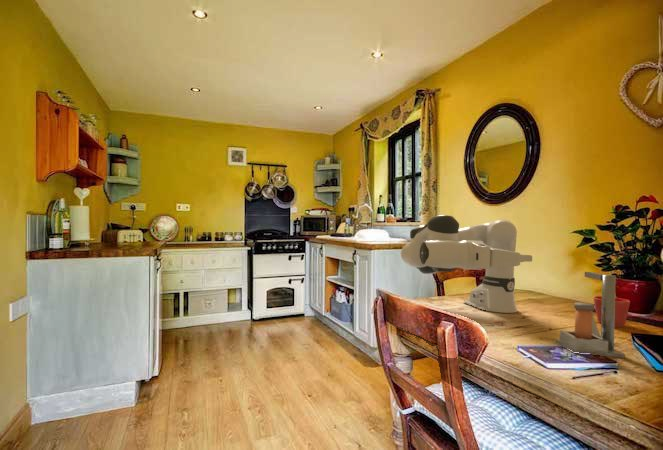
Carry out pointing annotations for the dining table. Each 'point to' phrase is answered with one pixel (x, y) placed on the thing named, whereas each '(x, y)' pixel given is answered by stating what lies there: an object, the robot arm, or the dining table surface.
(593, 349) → the grey post stand
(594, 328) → the flask
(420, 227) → the robot arm
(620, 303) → the flower pot
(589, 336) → the orange capped jar
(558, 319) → the dining table surface
